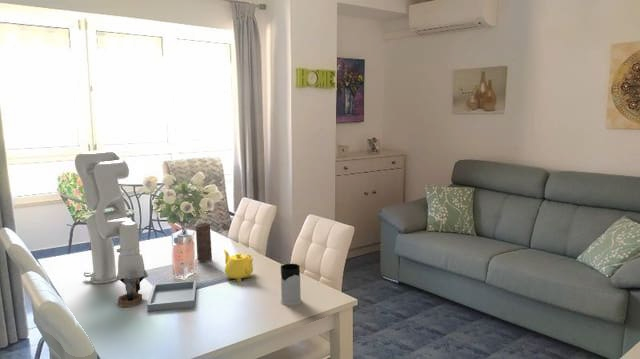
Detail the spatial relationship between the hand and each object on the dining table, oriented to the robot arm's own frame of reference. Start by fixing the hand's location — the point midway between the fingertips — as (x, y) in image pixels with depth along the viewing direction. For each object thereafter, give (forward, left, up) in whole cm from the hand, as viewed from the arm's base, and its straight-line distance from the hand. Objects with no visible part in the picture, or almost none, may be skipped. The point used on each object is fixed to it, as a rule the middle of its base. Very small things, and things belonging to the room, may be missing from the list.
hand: (133, 291), depth 205 cm
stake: (0, -8, -1) cm, 8 cm away
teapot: (+46, +11, -2) cm, 47 cm away
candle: (+29, +38, -2) cm, 48 cm away
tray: (+17, -8, -1) cm, 19 cm away
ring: (0, -5, -1) cm, 5 cm away
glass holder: (+64, -20, -2) cm, 67 cm away
